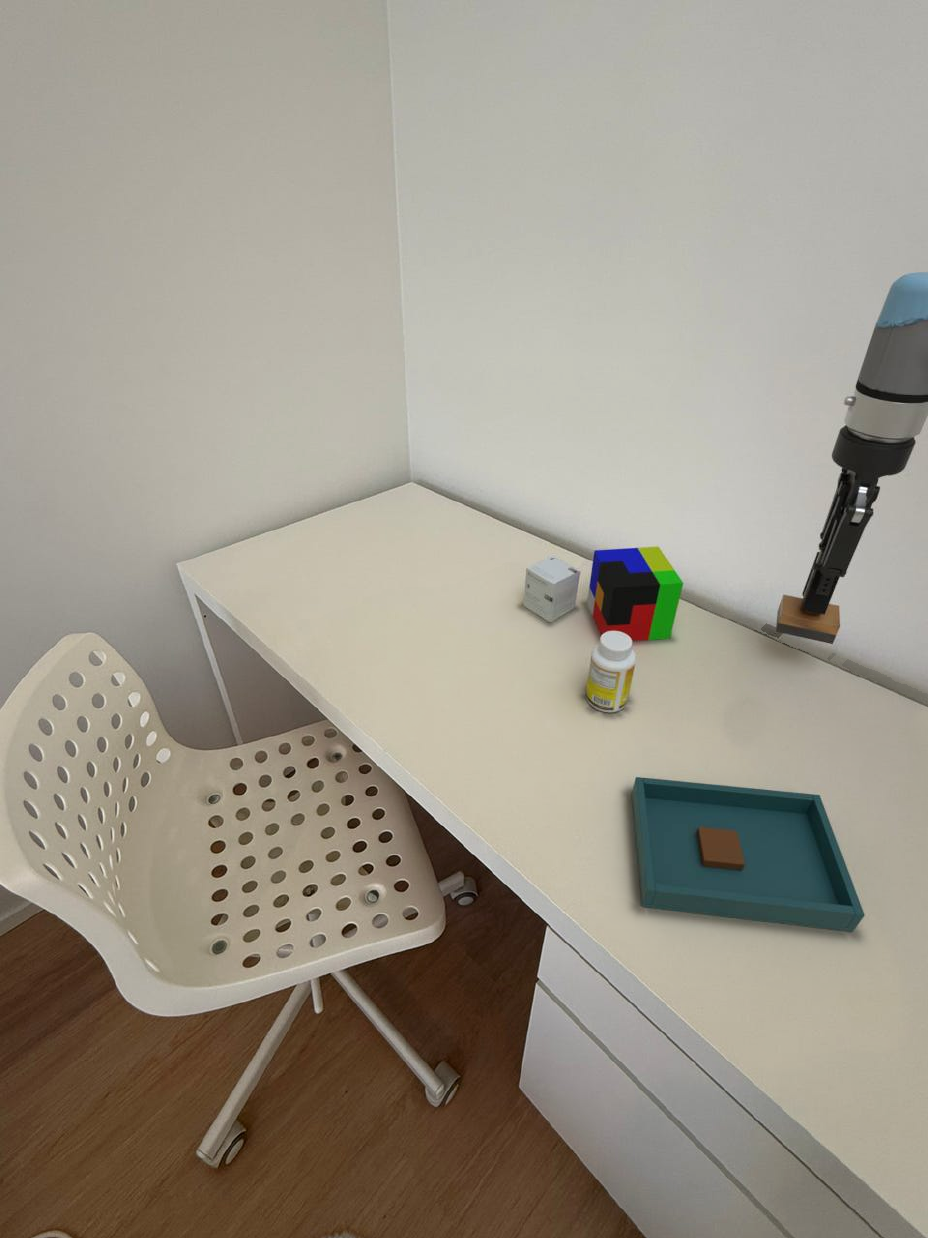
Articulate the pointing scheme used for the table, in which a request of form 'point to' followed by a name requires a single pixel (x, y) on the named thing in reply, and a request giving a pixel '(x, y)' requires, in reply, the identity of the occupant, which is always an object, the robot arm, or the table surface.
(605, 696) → the supplement bottle
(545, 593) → the white cardboard box
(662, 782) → the tray
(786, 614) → the wooden rubber stamp
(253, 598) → the table surface
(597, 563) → the puzzle toy
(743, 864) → the brown square tile
